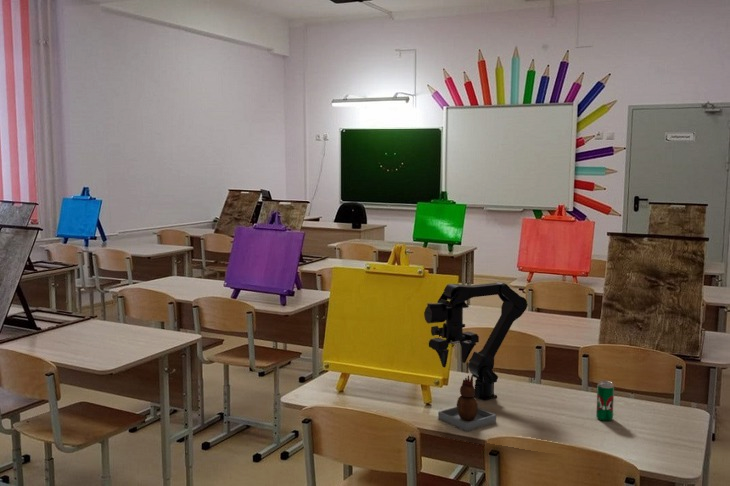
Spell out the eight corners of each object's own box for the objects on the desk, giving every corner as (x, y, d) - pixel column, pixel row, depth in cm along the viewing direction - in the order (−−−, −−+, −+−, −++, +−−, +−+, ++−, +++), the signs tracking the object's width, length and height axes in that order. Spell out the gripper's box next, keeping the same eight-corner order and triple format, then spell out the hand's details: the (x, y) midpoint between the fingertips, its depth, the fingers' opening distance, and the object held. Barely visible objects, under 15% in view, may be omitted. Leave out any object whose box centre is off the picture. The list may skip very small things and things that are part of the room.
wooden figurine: (480, 421, 215) (481, 375, 213) (464, 423, 213) (465, 377, 211) (469, 413, 221) (469, 369, 219) (454, 416, 219) (454, 371, 217)
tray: (467, 410, 226) (467, 403, 226) (496, 422, 215) (496, 414, 215) (438, 419, 218) (438, 411, 218) (466, 431, 208) (466, 424, 208)
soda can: (612, 416, 219) (613, 381, 218) (613, 422, 215) (614, 386, 213) (596, 415, 221) (597, 379, 220) (596, 420, 216) (597, 384, 215)
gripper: (458, 313, 244) (457, 355, 245) (418, 320, 233) (418, 364, 235) (480, 318, 235) (479, 362, 236) (439, 326, 224) (439, 371, 226)
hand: (453, 364), depth 234 cm, fingers open, 9 cm apart
